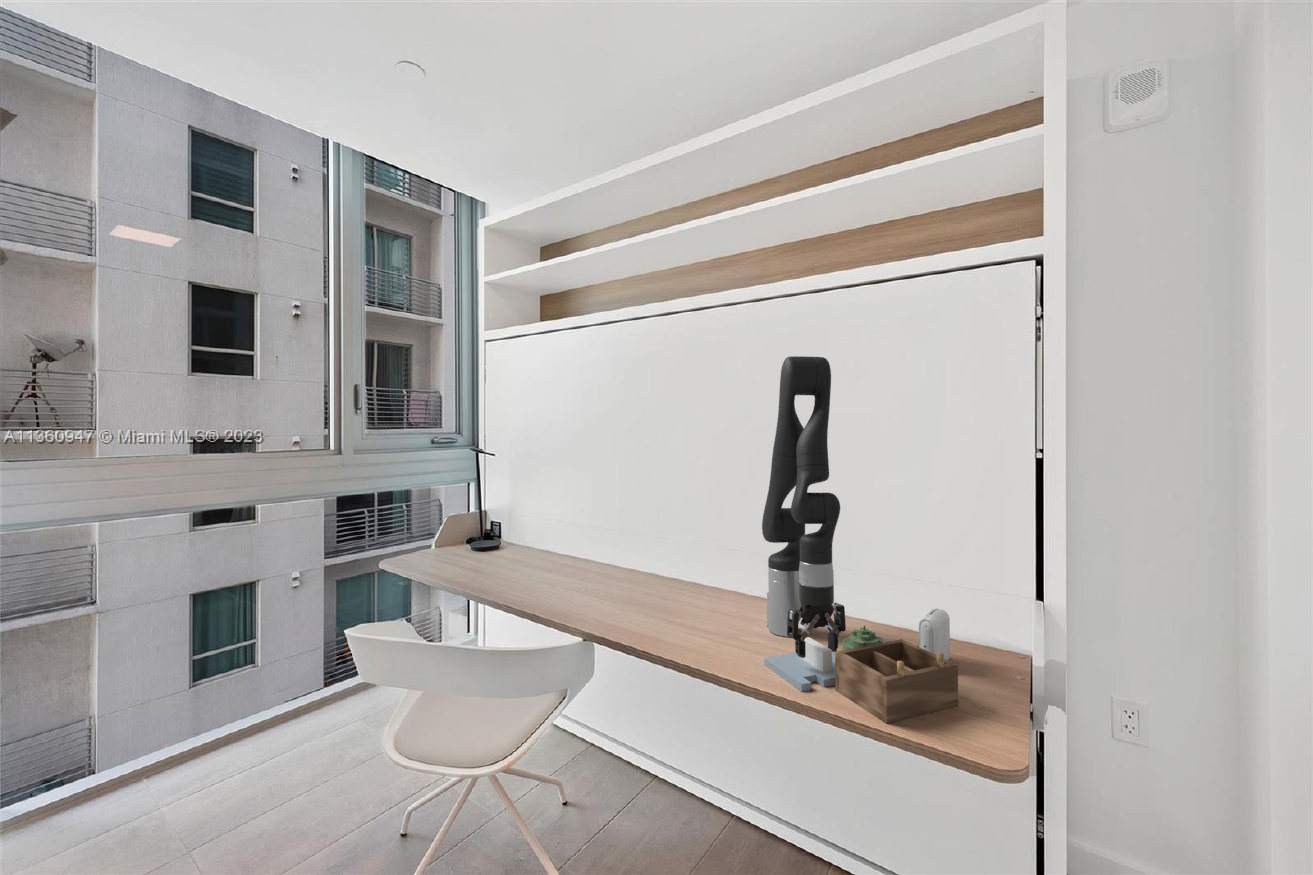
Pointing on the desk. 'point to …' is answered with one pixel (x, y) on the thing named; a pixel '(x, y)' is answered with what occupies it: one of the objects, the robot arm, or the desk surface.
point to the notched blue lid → (805, 666)
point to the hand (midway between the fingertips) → (816, 653)
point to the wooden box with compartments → (896, 680)
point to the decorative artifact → (861, 639)
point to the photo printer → (935, 632)
